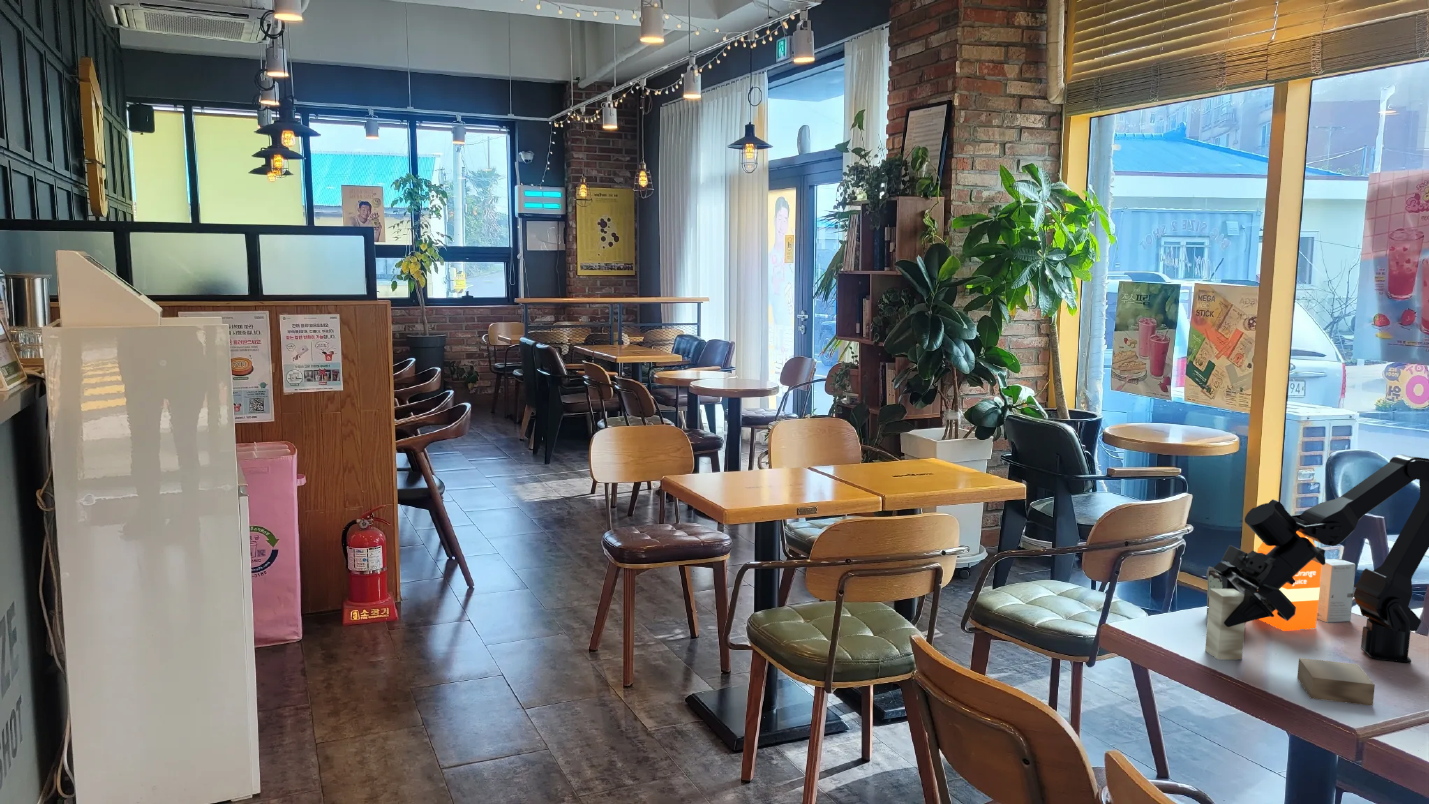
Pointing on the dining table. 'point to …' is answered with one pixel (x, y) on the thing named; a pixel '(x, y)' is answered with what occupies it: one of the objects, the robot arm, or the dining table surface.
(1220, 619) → the birch pillar
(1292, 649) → the dining table surface
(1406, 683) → the dining table surface
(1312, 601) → the orange juice
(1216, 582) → the food container
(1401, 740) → the dining table surface
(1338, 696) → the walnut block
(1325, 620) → the skincare box
